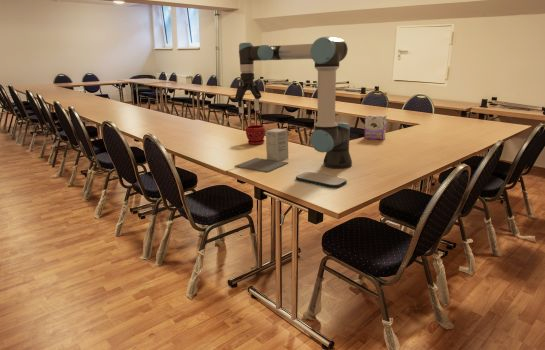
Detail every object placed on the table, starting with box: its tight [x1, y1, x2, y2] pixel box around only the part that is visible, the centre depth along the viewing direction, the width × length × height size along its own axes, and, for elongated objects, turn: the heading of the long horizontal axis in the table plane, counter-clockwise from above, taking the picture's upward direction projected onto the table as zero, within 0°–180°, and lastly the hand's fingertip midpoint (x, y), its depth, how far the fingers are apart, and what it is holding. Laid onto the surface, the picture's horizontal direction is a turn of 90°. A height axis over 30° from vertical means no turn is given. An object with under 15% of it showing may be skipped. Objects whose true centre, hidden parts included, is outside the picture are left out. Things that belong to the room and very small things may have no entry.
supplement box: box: [265, 128, 289, 161], centre depth 220 cm, size 10×9×17 cm
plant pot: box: [245, 124, 266, 146], centre depth 262 cm, size 13×13×12 cm
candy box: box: [363, 114, 387, 141], centre depth 267 cm, size 14×6×16 cm, turn 58°
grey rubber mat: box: [234, 157, 289, 173], centre depth 209 cm, size 22×20×1 cm
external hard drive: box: [295, 171, 348, 189], centre depth 179 cm, size 24×12×2 cm, turn 51°
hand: (249, 111), depth 214 cm, fingers open, 13 cm apart
